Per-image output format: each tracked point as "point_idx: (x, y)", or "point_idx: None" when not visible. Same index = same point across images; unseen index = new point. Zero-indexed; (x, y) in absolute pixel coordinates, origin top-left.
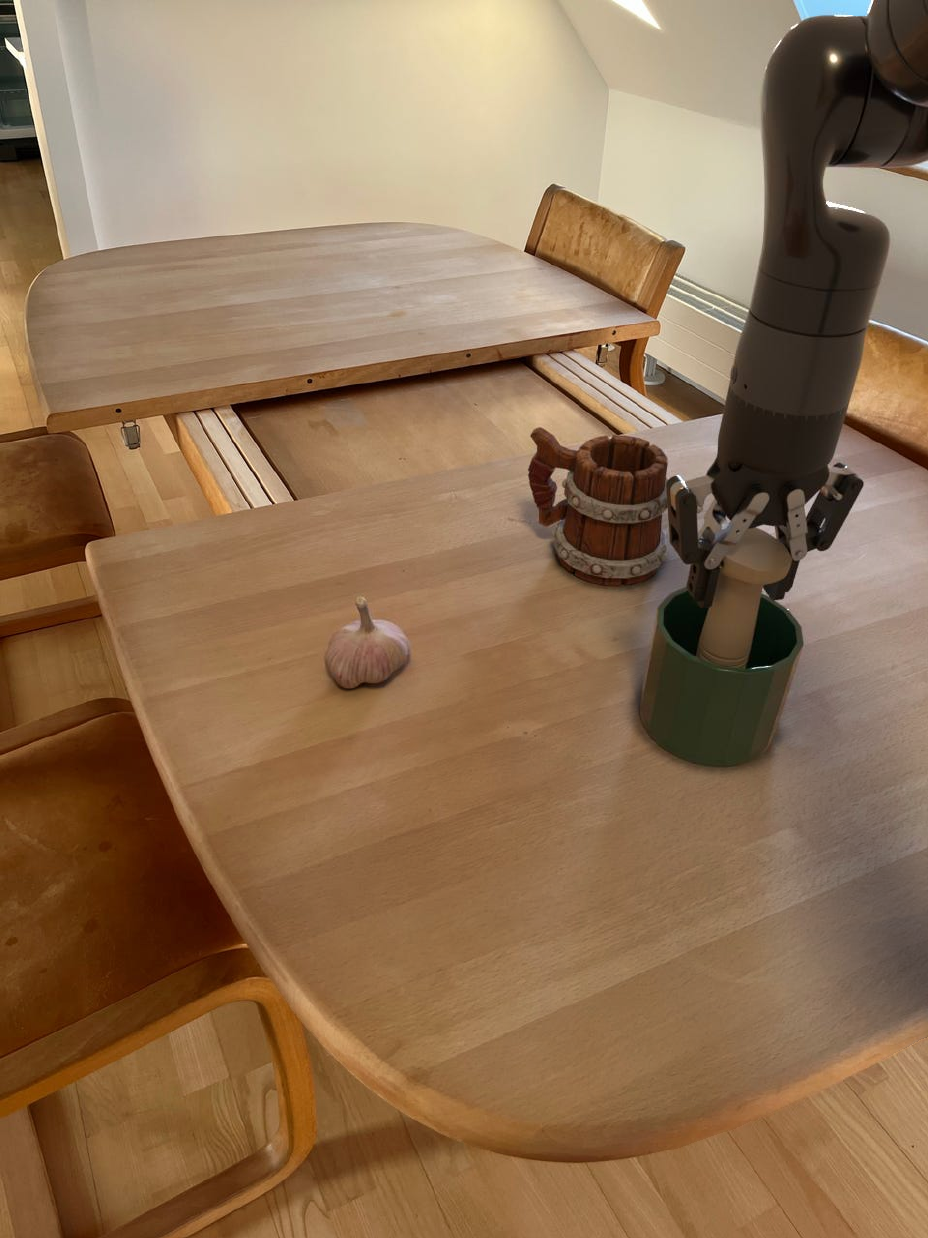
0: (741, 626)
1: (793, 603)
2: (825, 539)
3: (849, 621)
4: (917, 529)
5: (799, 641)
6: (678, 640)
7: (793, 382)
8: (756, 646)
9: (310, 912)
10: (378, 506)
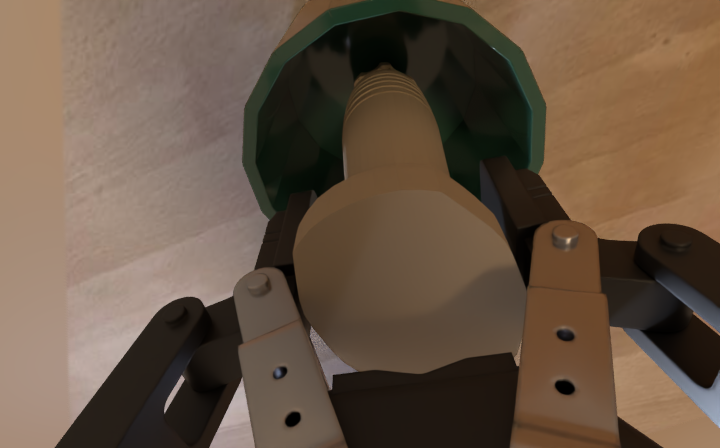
0: (391, 130)
1: (223, 292)
2: (171, 331)
3: (154, 266)
4: (70, 396)
5: (252, 115)
6: None
7: None
8: (306, 177)
9: None
10: (669, 409)
